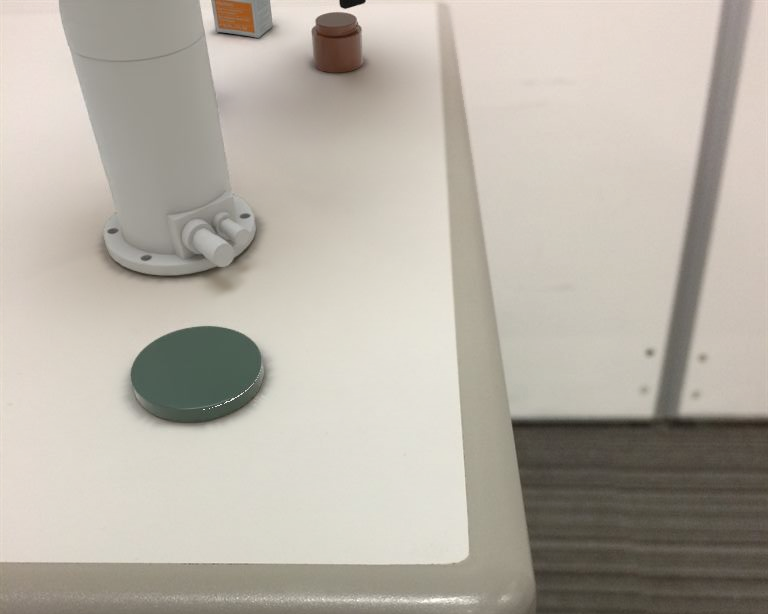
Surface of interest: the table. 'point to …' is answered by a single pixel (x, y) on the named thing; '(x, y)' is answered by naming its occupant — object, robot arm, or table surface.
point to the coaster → (197, 373)
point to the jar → (337, 42)
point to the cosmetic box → (242, 16)
